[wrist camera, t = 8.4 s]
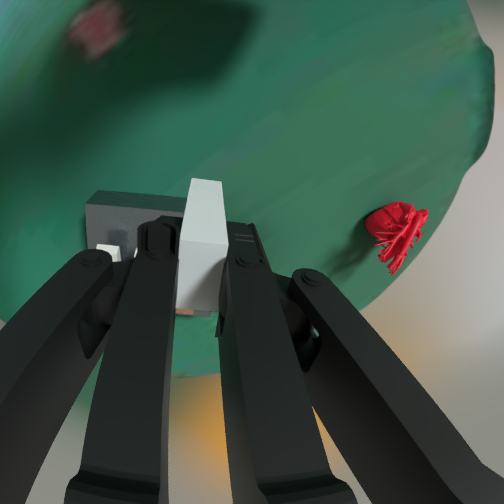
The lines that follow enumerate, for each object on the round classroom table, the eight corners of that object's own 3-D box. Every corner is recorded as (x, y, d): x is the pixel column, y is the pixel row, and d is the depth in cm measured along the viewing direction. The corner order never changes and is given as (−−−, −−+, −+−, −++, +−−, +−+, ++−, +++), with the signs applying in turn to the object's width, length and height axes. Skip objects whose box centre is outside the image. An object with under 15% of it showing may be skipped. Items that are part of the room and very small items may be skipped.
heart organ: (414, 215, 53) (450, 244, 43) (371, 251, 56) (400, 287, 46) (396, 179, 48) (435, 204, 38) (348, 218, 51) (379, 251, 41)
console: (98, 190, 43) (77, 211, 35) (223, 202, 47) (226, 226, 39) (103, 284, 52) (90, 315, 44) (209, 295, 56) (210, 328, 48)
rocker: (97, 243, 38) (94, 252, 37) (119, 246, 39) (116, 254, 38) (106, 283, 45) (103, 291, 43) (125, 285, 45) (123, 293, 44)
